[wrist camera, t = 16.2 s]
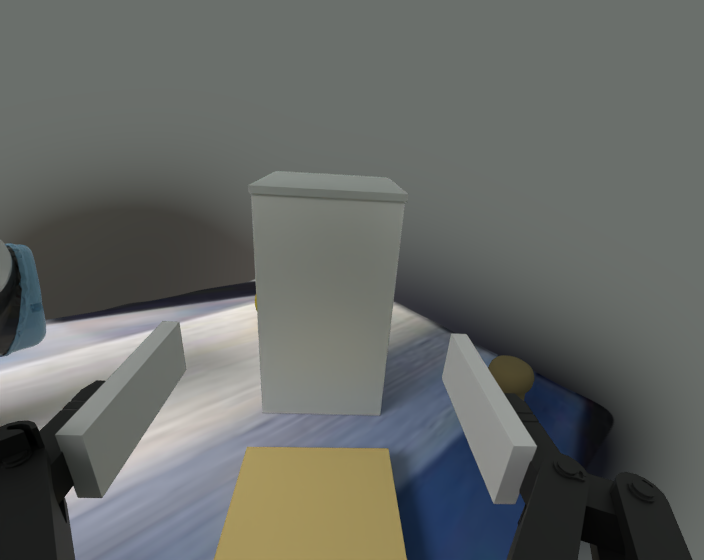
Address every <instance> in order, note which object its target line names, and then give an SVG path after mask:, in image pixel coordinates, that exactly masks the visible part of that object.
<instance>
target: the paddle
mask: <svg viewBox="0 0 704 560" xmlns="http://www.w3.org/2000/svg"><path fill="white" fill-rule="evenodd" d="M214 560H407V558H406V552H405V546H404V540H403V534H402V528H401V522H400V516H399V510H398V504H397V498H396V492H395V486H394V480H393V474H392V468H391V462H390V456H389V450H388V448H298V447H247V449H246V452H245V456H244V459H243V462H242V466H241V469H240V473H239V476H238V479H237V483H236V486H235V490H234V493H233V496H232V500H231V503H230V506H229V510H228V513H227V517H226V520H225V523H224V527H223V530H222V534H221V537H220V540H219V544H218V547H217V550H216V554H215V557H214Z"/></svg>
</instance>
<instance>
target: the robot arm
mask: <svg viewBox="0 0 704 560" xmlns="http://www.w3.org/2000/svg"><path fill="white" fill-rule="evenodd" d="M45 335H46V323H45V316H44V310H43V306H42V299H41V291H40V286H39V280H38V275H37V271H36V266H35V262H34V258H33V254H32V252H31V250H30V248H28V247H27V246H25V245H14V244H4V243H3V242H2V240H0V357H2V356H7V355H9V354H11V353H12V352H15V351H19V350H22V349H26V348H29V347H33V346H35V345H37V344H39V343H40V342H41V341H42V340H43V339H44V337H45ZM185 371H186V364H185V357H184V351H183V344H182V337H181V330H180V324H179V322H169V321H162V322H161V324H160V325H159V326H158V327H157V328H156V329H155V330H154V331H153V332H152V333H151V334H150V335H149V336H148V337H147V338H146V339H145V340H144V341H143V342H142V344H141V345H140V346H139V347H138V348H137V349H136V350H135V351H134V352H133V353H132V354H131V355H130V356H129V357H128V358H127V359H126V360H125V361H124V363H123V364H122V365H121V366H120V367H119V368H118V369H117V370H116V371H115V372H114V373H113V374H112V375H111V376H110V377H109V378H108V379H107V380H106V381H95V382H93V383H92V384H90V385H88V386H87V387H85V388H83V389H82V390H81V391H80V392H79V393H78V394H77V395H76V396H75V397H74V398H73V399H72V400H71V402H69V403H68V404H67V405H66V406H65V407H64V408H63V410H62V411H60V412H59V413H58V414H57V415H56V416H55V417H54V418H53V419H52V420H50V421H49V422H48V423H47V424H46V425H45V426H44V427H43V428H42V429H41V430H40V431H39V430H38V428H37V426H36V424H35V423H34V422H31V421H17V422H13V423H9V424H6V425H4V426H2V427H0V560H75V555H74V548H73V542H72V535H71V528H70V522H69V515H68V508H67V503H66V500H65V496H66V494H67V493H68V492H69V490H70V489H71V488H72V487H73V486H74V488H75V491H76V494H77V497H78V498H103V496H104V495H105V493H106V491H107V490H108V488H109V487H110V485H111V484H112V482H113V481H114V479H115V478H116V476H117V475H118V473H119V472H120V470H121V469H122V467H123V465H124V464H125V462H126V461H127V459H128V458H129V456H130V455H131V453H132V452H133V450H134V449H135V447H136V446H137V444H138V443H139V441H140V440H141V438H142V436H143V435H144V433H145V432H146V430H147V429H148V427H149V426H150V424H151V423H152V421H153V420H154V418H155V417H156V415H157V414H158V412H159V410H160V409H161V407H162V406H163V404H164V403H165V401H166V400H167V398H168V397H169V395H170V394H171V392H172V391H173V389H174V388H175V386H176V384H177V383H178V381H179V380H180V378H181V377H182V375H183V374H184V372H185ZM442 380H443V382H444V385H445V387H446V390H447V392H448V395H449V397H450V399H451V402H452V404H453V407H454V409H455V411H456V414H457V416H458V419H459V421H460V424H461V426H462V428H463V431H464V433H465V436H466V438H467V440H468V443H469V445H470V448H471V450H472V453H473V455H474V457H475V460H476V462H477V465H478V467H479V469H480V472H481V474H482V477H483V479H484V482H485V484H486V486H487V489H488V491H489V494H490V496H491V498H492V501H493V503H494V504H515V503H516V500H517V498H518V495H519V493H520V494H521V496H522V498H523V500H524V502H525V506H524V509H523V511H522V514H521V516H520V519H519V521H518V527H517V530H516V533H515V536H514V539H513V542H512V545H511V548H510V551H509V554H508V557H507V560H578V553H579V547H580V541H584V542H588V543H590V548H591V554H592V560H692V558H691V555H690V553H689V551H688V548H687V545H686V543H685V541H684V538H683V536H682V533H681V531H680V529H679V526H678V524H677V521H676V519H675V517H674V514H673V512H672V509H671V507H670V505H669V502H668V500H667V499H666V497H665V495H664V494H663V493H662V492H661V491H660V490H659V489H658V488H657V487H656V486H655V485H654V484H652V483H651V482H649V481H648V480H646V479H645V478H643V477H640V476H638V475H636V474H632V473H628V472H624V473H620V474H618V475H617V476H616V478H615V480H614V481H611V480H608V479H604V478H601V477H598V476H594V475H591V474H588V473H587V472H586V471H585V469H584V468H583V467H582V466H581V465H580V464H579V463H578V462H577V461H575V460H574V459H572V458H571V457H569V456H566V455H564V454H561V453H560V451H559V450H558V449H557V447H556V446H555V444H554V443H553V441H552V440H551V438H550V437H549V435H548V434H547V433H546V431H545V430H544V428H543V427H542V425H541V424H540V423H539V421H538V420H537V418H536V417H535V415H533V412H532V411H531V409H530V408H529V406H528V405H527V404H526V402H525V401H523V400H522V399H521V398H520V397H519V396H517V395H516V394H515V393H503V391H502V390H501V388H500V387H499V385H498V384H497V382H496V380H495V379H494V377H493V376H492V374H491V372H490V371H489V369H488V368H487V366H486V364H485V363H484V361H483V360H482V358H481V356H480V355H479V353H478V352H477V350H476V349H475V347H474V345H473V344H472V342H471V341H470V339H469V337H468V336H467V334H451V337H450V342H449V347H448V352H447V356H446V361H445V366H444V371H443V375H442Z"/></svg>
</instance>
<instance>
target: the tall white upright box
mask: <svg viewBox="0 0 704 560" xmlns="http://www.w3.org/2000/svg"><path fill="white" fill-rule="evenodd" d="M248 188H249V193H251V201H252V220H253V239H254V257H255V276H256V296H257V315H258V334H259V353H260V372H261V391H262V410H263V413H283V414H330V415H376V416H380V412H381V404H382V395H383V386H384V378H385V369H386V360H387V352H388V343H389V334H390V326H391V317H392V308H393V300H394V299H393V298H394V291H395V282H396V273H397V265H398V256H399V248H400V239H401V230H402V222H403V213H404V204H405V202H407V198H408V194H407V193H406V192H405V191H404V190H402V189H401V188H400V187H399V186H397V185H396V184H395V183H394V182H393V181H391V180H390V179H389V178H388V177H370V176H353V175H336V174H319V173H300V172H283V171H275V172H274V173H271V174H269V175H267V176H266V177H263V178H262V179H260V180H258V181H256V182H254V183H252V184H250V185H248Z"/></svg>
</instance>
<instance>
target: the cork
mask: <svg viewBox="0 0 704 560" xmlns="http://www.w3.org/2000/svg"><path fill="white" fill-rule="evenodd" d="M488 369H489V371H490V372H491V374H492V376H493V377H494V379H495V380H496V382H497V384H498V385H499V387H500V388H501V390H502V391H503V393H515V394H516V395H517V396H519V397H520V398H521V399H522V400H523V401H524V396H525V393H526V392H528V391H529V390H530V389H531V387H532V385H533V382H534V373H533V370H532V368H531V367H530V366H529V365H528V364H527V363H525V362H524V361H523V360H521V359H519V358H516V357H512V356H498V357H496V358H495V359H493V360H492V362H491V363H490V365H489V367H488Z"/></svg>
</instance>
